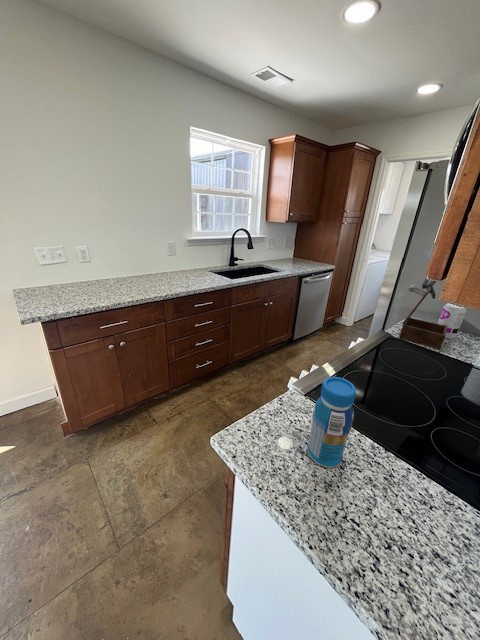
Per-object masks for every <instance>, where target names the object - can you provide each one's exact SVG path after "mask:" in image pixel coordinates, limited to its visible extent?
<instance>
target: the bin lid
mask: <svg viewBox="0 0 480 640" xmlns="http://www.w3.org/2000/svg"><path fill="white" fill-rule="evenodd" d="M430 289H431V286H429V288H428V289H427V290H426V289H425V290H424V289H422V288H419V287H417V285H416V284H411V285H410V286H409V288H408V292H409V293H415V294H417V295H419V296H421V297H420V298H419V299H418V301H417V302H416V303H415V304H414V306H413V307H412V309H411V310H410V311H409V312H408V314H407V315H406V317H405V318H404V320H403V321H402V325H403V324H405V323H406V322H407V320H408V319H409V318H410V317H412V315H413V314H414V313H415V311H416V310H417V309H418V308H419V306H420V305H421V304H422V302H423V301H424V300H425V299H426V297H427V296H428V295H429V294H430V293H429V291H430Z"/></svg>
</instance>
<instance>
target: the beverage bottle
mask: <svg viewBox="0 0 480 640" xmlns="http://www.w3.org/2000/svg"><path fill="white" fill-rule="evenodd" d="M356 396H357V388H356V386H355V385H354V384H353V383H352V382H351V381H349V380H347V379H346V378H344V377H339V376H330V377H326V378H325V379H324V380H323V382H322V385H321V389H320V397H319V398H318V399H317V400H316V401H315V405H314V410H313V412H312V415H311V416H312V417H311V420H312V422H311V428H310V433H309V439H308V442H307V447H306V451H307V453H308V456H309V458H310V459H311V460H312V461H313V462H315V464H317V465H319V466H321V467H324V468H335V467H338V466H339V465H340V464H341V463H342V462H343V459H344V454H345V448H346V446H347V441H348V437H349V434H350V433H351V432H352V428H353V421H354V418H355V412H354V407H353V405H354V402H355V399H356Z"/></svg>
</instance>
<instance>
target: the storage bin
mask: <svg viewBox="0 0 480 640" xmlns="http://www.w3.org/2000/svg"><path fill="white" fill-rule="evenodd" d="M446 331H447V326H444V325H440V324H438V323H435V322H431V321H428V320H423V319H419V318H414V317H412V316H410V318H409V319H408V320H407V322H406V323H405V324H403V323H402V326H401V329H400V333H399V337H398V339H400V340H403V341H407V342H410V343H414V344H417V345H421V346H424V347H427V348H431V349H435V350H439V351H441V348H442V346H443V343H444V341H445V339H446V338H445V336H446Z"/></svg>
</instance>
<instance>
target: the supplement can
mask: <svg viewBox="0 0 480 640" xmlns="http://www.w3.org/2000/svg"><path fill="white" fill-rule="evenodd" d="M450 303H451V302H447V303H446V304H445V305H444V306H443V308H442V310H441V313H440V316H439V318H438V321H437V324H440V325H444V326H447V331H446V336H445V339H447V340H452V339H455V338H457V335H458V332H459V331H460V328H461V327H462V326H461V325H462V323H463V321H464V319H465V317H466V316H465V315H466V313H467V307H466V308H464V307H459V306H456V305H453V304H450Z"/></svg>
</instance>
